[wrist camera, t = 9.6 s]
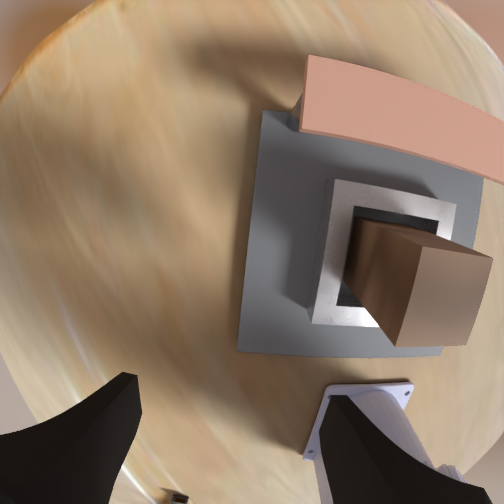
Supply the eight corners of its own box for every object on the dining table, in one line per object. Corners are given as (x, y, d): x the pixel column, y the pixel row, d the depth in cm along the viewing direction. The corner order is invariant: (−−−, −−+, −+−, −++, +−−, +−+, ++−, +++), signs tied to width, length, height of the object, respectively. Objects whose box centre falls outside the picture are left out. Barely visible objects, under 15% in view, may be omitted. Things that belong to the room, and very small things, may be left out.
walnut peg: (397, 285, 18) (465, 345, 11) (342, 280, 18) (394, 346, 10) (410, 225, 17) (493, 258, 10) (354, 216, 17) (422, 246, 10)
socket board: (434, 349, 21) (481, 402, 13) (237, 343, 20) (230, 419, 13) (477, 150, 17) (549, 150, 10) (264, 97, 17) (270, 48, 9)
